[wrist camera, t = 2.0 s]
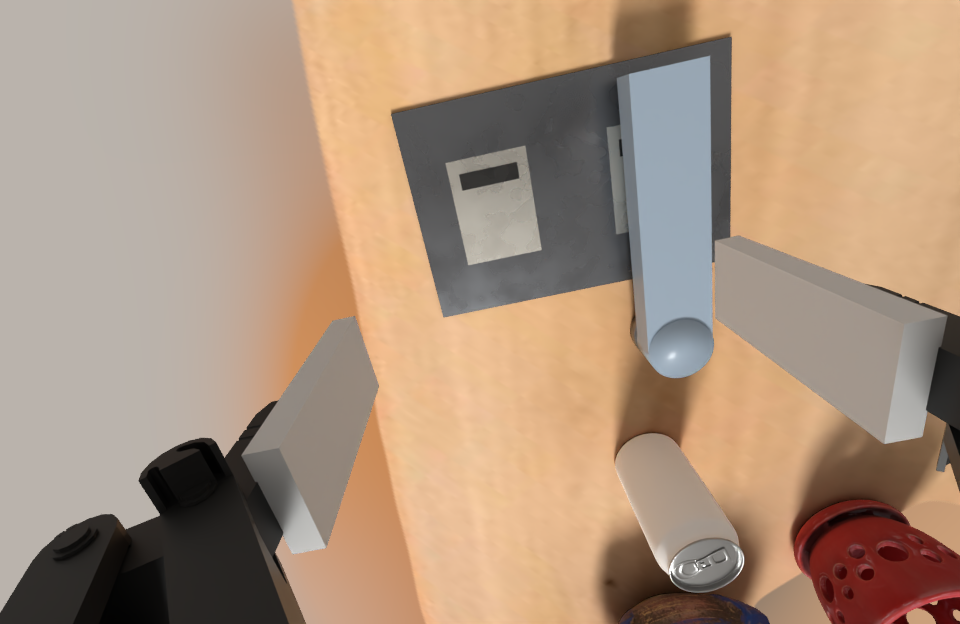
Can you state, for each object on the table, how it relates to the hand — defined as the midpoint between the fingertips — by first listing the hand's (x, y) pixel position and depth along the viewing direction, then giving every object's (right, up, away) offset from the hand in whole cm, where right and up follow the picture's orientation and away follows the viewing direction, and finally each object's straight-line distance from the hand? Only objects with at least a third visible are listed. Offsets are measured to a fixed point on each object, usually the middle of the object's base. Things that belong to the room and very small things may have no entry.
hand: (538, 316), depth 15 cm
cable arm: (+12, +6, +19) cm, 24 cm away
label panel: (+5, +9, +20) cm, 22 cm away
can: (+15, -14, +30) cm, 36 cm away
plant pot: (+37, -24, +34) cm, 56 cm away
